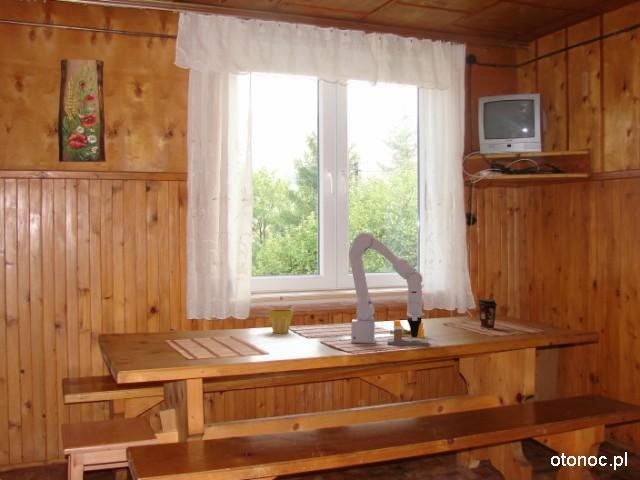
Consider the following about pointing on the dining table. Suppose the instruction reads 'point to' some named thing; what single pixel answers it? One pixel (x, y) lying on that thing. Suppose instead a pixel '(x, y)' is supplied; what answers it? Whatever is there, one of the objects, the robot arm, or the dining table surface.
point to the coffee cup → (487, 313)
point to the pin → (404, 333)
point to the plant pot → (280, 319)
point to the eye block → (400, 341)
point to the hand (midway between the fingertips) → (414, 336)
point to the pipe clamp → (397, 323)
